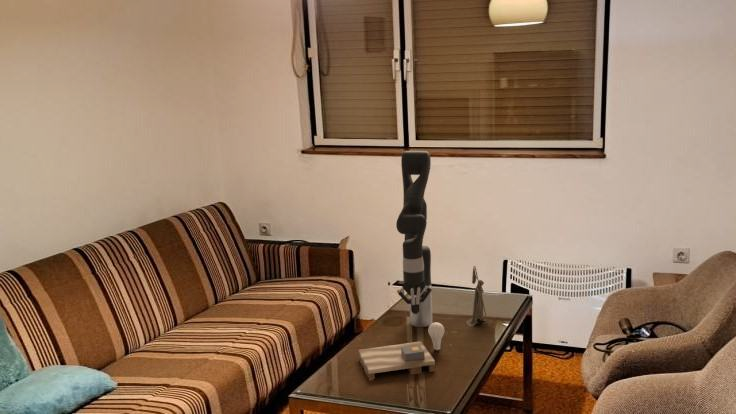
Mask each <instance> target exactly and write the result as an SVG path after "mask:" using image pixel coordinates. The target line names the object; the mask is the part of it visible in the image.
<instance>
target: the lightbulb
mask: <svg viewBox="0 0 736 414" xmlns="http://www.w3.org/2000/svg"><path fill="white" fill-rule="evenodd" d="M427 331H428V335H429V337H430V338H431V342H432V344H433V346H432V347H433V349H434V350H435V351H439V350H441V343H442V339H443V337H444V334H445V327H444V325H443V324H442V323H440V322H435V321H434V322H433V323H432V324H431V325H430V326H428V330H427Z"/></svg>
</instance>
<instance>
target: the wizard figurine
mask: <svg viewBox="0 0 736 414" xmlns="http://www.w3.org/2000/svg"><path fill="white" fill-rule="evenodd" d="M471 277H472V278H471V279H472V280H471V283H472V284H473V285H475V284H476V282H477V285H476V286H475V288H474V289H475V290H474V298H473V306H472V307H473V309H472V317H471V318H470V319H468V320H467V321H466V325H467V326H468V327H474V326H475V325H476V324H477V325H478V324H479V322H478V320H479V319H480V321H481V322H483V321H484V322H487V323H488V322H489V321H488V316H487V311H486V308H485V303H484V298H483V294H484V289H483V286H484V284H485V282H484V281H483V280H482V279H479V276H478V272H477V268H476V265H473V268H472V276H471ZM484 316H485V319H484Z"/></svg>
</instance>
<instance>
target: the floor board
mask: <svg viewBox="0 0 736 414" xmlns="http://www.w3.org/2000/svg"><path fill="white" fill-rule="evenodd" d="M416 345H420V346H421V347H422V349H423V350H424V355H425V359H423V360H416V361H409V362H405V360H404V359H403V357H402V355H401V347H408V346H416ZM358 358H359V359H358V360H359V363H360V364H361V366H362V369H363V368H364V369H363V370H364V373H365V375H366V376H367V378H369V379H368V381H369V380H370V381H373V380H372V379H375V380H376V377H375V374H378V373H379V374H380V373H386V372H391V371H399V370H405V369H407V371H408V373H409V375H411V374H412V375H418V374H422V373H423V371H422V367H425V368H426V369H427V371H429V372H436V361H435V359H434V357H433V356H432V354H431V353H430V352H429V351H428V349H427V348H426V346H425V345H424V344H423V342H422V341H420V340H419V341H414V342H413V341H412V342H406V343H399V344H393V345H392V344H391V345H384V346H378V347H370V348H368V347H367V348H362V349H358Z"/></svg>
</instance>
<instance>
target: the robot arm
mask: <svg viewBox="0 0 736 414" xmlns="http://www.w3.org/2000/svg"><path fill="white" fill-rule="evenodd" d="M400 161H401V163H400V165H401V175H402V185H403V186H402V187H403V203H402V204H403V206H402V209H401V212H399V215H398V217H397V220H396V227H395V228H396V229H397V232H399V234H401V235H404V241H403V242H402V278H403V281H402V282H403V283H402V285H401V286H402V287H401V288H400V289H397V290H396V292H397V294H398V296H399V297H400V298H401V299H402V300H403V301H404V302H405V303H406V304H407V305H409V316H410V318H409V319H410V325H411V326H413V327H416V328H425V327H429V326H430V325H431V324H432V323H434V322H433V302H432V301H433V300H432V299H433V298H432V276H431V275H432V274H431V272H432V271H431V269H432V268H431V266H432V265H431V264H432V255H431V249H430V247H429V246H427V245H423V243H424V242H423V241H424V236H425V233H426V228H427V225H428V224H427V218H428V205H427V202H426V199H425V192H426V189H427V184H428V180H429V176H430V172H431V164H432V163H431V161H432V160H431V155H430V153H429V152H428V151H426V150H404V151H403V152H402V154H401V160H400ZM412 176H418V177H417V178H416V179H415V180H414V181H413V179H412ZM405 293H406V294H407V295H408V296H409V298H408V297H407V296H406V295H405Z"/></svg>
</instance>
